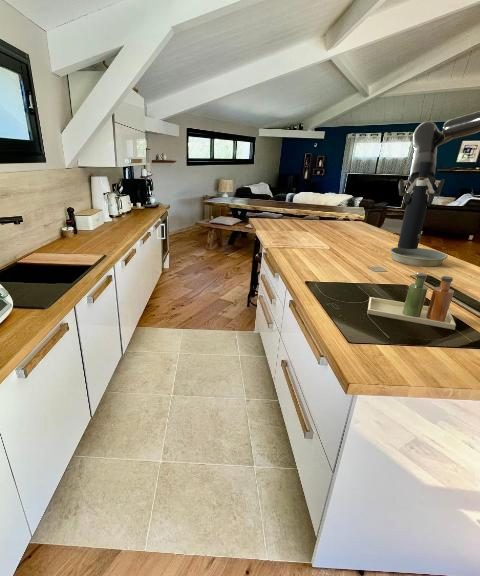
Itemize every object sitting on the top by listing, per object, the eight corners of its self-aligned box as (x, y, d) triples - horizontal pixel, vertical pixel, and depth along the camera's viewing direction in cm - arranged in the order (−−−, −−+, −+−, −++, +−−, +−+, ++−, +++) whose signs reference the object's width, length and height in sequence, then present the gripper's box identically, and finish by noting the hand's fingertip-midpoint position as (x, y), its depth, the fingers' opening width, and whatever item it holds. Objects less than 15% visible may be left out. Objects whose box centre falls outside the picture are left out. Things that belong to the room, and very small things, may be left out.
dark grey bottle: (396, 244, 123) (413, 162, 112) (416, 246, 120) (435, 162, 109) (398, 248, 117) (416, 162, 107) (418, 249, 115) (439, 161, 104)
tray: (447, 315, 104) (449, 309, 103) (454, 331, 94) (456, 325, 93) (368, 301, 115) (369, 296, 114) (367, 314, 105) (368, 309, 104)
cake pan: (390, 264, 157) (392, 255, 156) (386, 252, 178) (387, 245, 176) (451, 270, 147) (454, 261, 146) (438, 257, 168) (441, 249, 166)
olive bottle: (419, 313, 104) (430, 273, 99) (420, 318, 100) (432, 277, 95) (401, 309, 107) (411, 271, 102) (402, 315, 103) (412, 275, 98)
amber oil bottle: (443, 317, 101) (456, 276, 96) (446, 323, 97) (459, 281, 92) (425, 313, 104) (436, 274, 99) (426, 319, 100) (438, 278, 95)
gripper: (402, 160, 117) (395, 196, 112) (450, 159, 110) (446, 197, 105) (398, 175, 123) (392, 209, 118) (444, 175, 116) (439, 211, 111)
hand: (417, 203), depth 111 cm, fingers closed on dark grey bottle, 5 cm apart
